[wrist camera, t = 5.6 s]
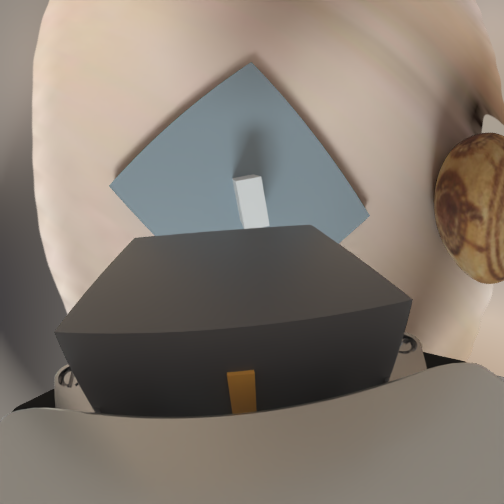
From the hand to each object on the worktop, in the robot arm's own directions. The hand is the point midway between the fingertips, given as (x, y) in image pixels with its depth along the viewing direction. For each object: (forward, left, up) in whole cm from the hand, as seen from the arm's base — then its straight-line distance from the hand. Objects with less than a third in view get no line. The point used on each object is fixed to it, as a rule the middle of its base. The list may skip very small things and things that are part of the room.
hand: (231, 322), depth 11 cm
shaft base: (+1, -4, -18) cm, 18 cm away
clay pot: (-18, -28, -18) cm, 38 cm away
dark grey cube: (0, 0, -1) cm, 1 cm away
